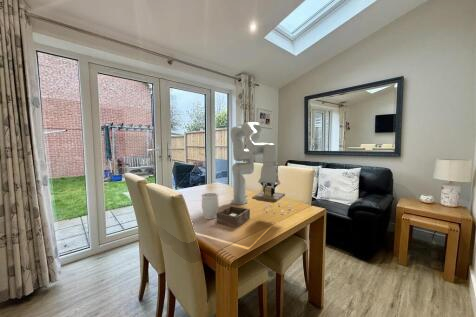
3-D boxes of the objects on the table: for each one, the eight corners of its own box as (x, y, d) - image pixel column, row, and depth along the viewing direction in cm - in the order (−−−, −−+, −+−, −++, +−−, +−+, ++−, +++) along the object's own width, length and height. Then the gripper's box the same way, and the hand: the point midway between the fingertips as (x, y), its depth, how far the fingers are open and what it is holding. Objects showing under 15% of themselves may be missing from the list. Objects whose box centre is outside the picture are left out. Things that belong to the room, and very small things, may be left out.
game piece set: (271, 204, 166) (271, 199, 166) (295, 209, 154) (295, 204, 153) (257, 210, 152) (257, 205, 151) (282, 217, 139) (283, 211, 138)
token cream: (232, 216, 136) (232, 213, 136) (237, 217, 134) (237, 214, 134) (228, 218, 133) (228, 215, 132) (234, 220, 131) (234, 216, 130)
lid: (263, 194, 140) (263, 183, 140) (284, 197, 133) (285, 185, 132) (252, 200, 126) (252, 188, 125) (275, 204, 119) (275, 191, 118)
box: (230, 215, 140) (230, 205, 140) (249, 220, 133) (249, 209, 133) (216, 224, 127) (216, 213, 126) (236, 229, 120) (236, 217, 119)
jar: (202, 221, 132) (201, 197, 130) (201, 215, 142) (201, 193, 140) (219, 220, 134) (219, 196, 132) (217, 214, 144) (217, 192, 142)
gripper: (284, 164, 127) (284, 194, 128) (259, 162, 135) (259, 191, 137) (280, 165, 120) (280, 197, 122) (253, 164, 129) (253, 193, 130)
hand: (269, 193), depth 129 cm, fingers closed on lid, 4 cm apart
